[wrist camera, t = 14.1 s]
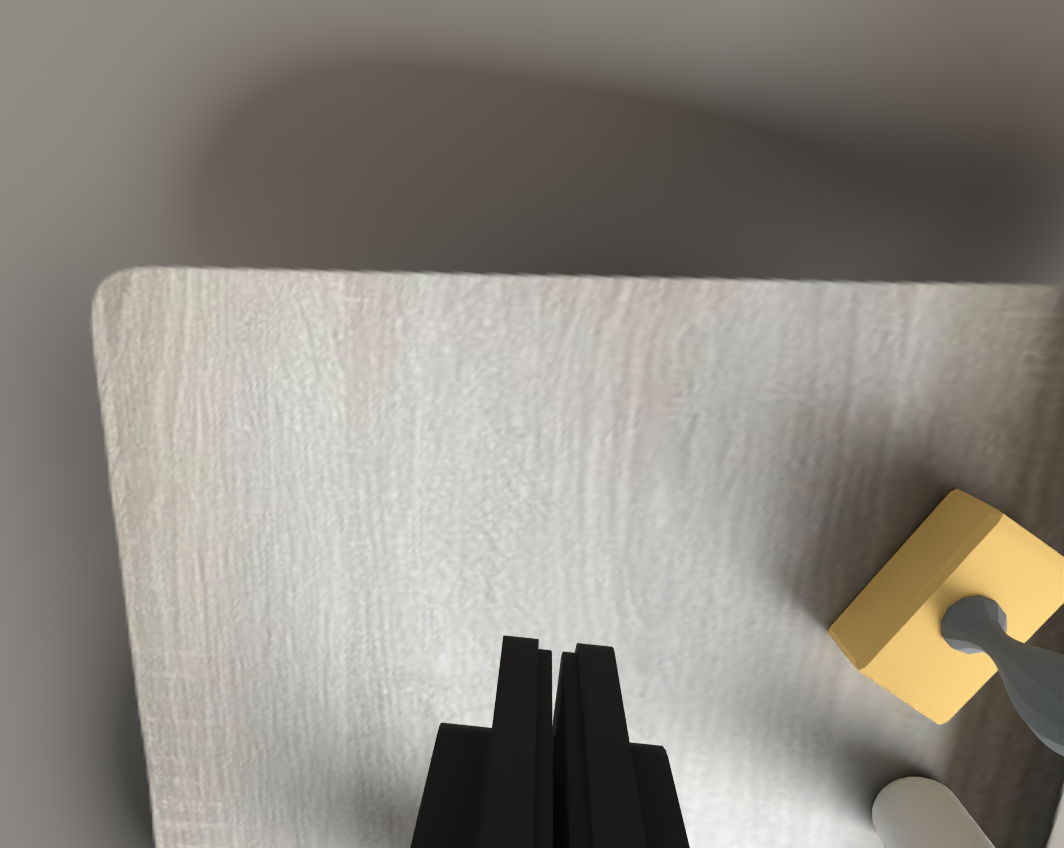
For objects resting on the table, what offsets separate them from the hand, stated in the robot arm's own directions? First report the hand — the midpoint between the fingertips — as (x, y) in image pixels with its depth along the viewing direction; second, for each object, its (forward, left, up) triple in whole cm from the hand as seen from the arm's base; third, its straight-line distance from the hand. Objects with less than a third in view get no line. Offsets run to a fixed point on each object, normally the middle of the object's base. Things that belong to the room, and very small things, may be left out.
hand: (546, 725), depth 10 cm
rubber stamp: (+7, +21, -24) cm, 32 cm away
